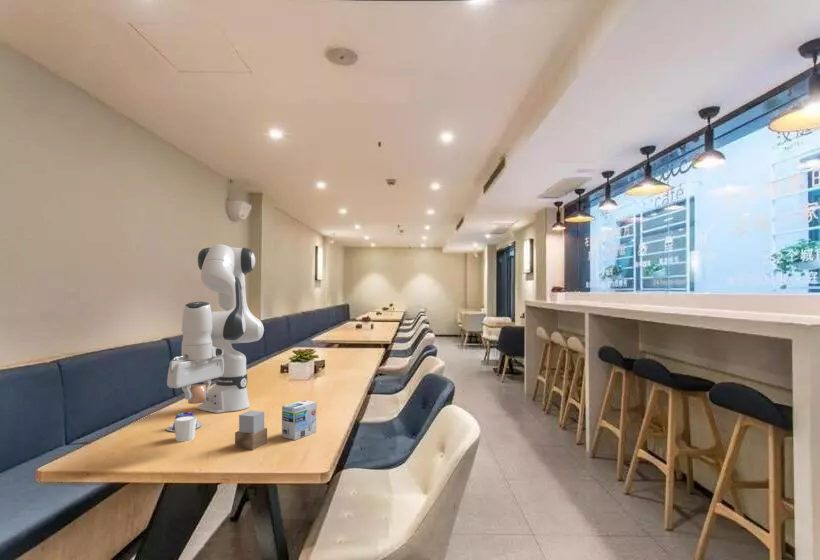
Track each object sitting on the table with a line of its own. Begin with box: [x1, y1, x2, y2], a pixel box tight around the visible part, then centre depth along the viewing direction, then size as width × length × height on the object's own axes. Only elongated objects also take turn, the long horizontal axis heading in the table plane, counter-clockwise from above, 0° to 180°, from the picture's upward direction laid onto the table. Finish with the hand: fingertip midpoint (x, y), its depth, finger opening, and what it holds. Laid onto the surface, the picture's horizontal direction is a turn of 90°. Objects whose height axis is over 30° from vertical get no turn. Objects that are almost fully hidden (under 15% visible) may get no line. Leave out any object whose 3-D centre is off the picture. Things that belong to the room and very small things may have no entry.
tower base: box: [234, 427, 268, 451], centre depth 141 cm, size 7×7×5 cm
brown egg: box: [187, 383, 206, 405], centre depth 137 cm, size 5×5×5 cm
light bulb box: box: [281, 399, 317, 441], centre depth 151 cm, size 11×7×11 cm, turn 148°
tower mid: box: [238, 410, 265, 434], centre depth 141 cm, size 6×6×6 cm
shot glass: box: [173, 415, 198, 443], centre depth 148 cm, size 7×7×7 cm
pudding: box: [166, 411, 204, 432], centre depth 161 cm, size 12×12×5 cm
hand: (197, 396), depth 137 cm, fingers closed on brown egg, 5 cm apart
